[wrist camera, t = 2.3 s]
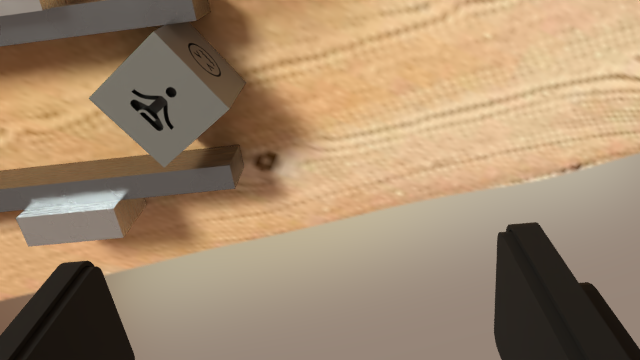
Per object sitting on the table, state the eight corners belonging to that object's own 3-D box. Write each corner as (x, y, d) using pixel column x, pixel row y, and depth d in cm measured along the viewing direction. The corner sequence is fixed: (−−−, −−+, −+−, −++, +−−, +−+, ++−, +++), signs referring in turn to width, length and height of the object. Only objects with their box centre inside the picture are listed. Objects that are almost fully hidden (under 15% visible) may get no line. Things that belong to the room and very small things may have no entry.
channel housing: (195, -58, 26) (172, -56, 23) (249, 194, 33) (238, 226, 29) (-153, -7, 28) (-225, 2, 24) (-36, 222, 35) (-79, 256, 31)
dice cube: (126, 73, 30) (88, 98, 25) (183, 15, 28) (153, 31, 24) (189, 133, 31) (164, 167, 27) (246, 82, 30) (229, 109, 25)
